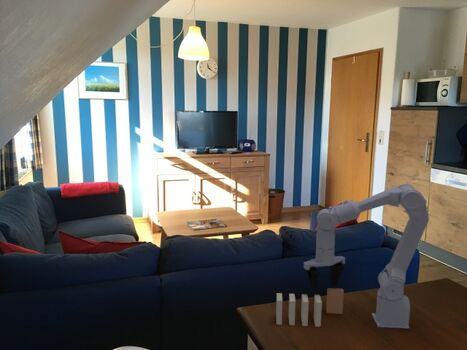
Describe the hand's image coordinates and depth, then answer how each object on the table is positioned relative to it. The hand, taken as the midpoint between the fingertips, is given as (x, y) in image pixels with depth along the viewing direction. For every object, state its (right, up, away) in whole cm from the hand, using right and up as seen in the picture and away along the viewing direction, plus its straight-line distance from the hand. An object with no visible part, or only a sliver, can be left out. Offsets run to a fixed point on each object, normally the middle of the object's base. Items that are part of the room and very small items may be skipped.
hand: (323, 286), depth 130 cm
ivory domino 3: (-7, -10, -3) cm, 13 cm away
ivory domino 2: (-11, -10, -3) cm, 15 cm away
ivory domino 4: (-3, -10, -4) cm, 11 cm away
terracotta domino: (+4, -9, +3) cm, 10 cm away
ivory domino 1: (-15, -10, -3) cm, 18 cm away
